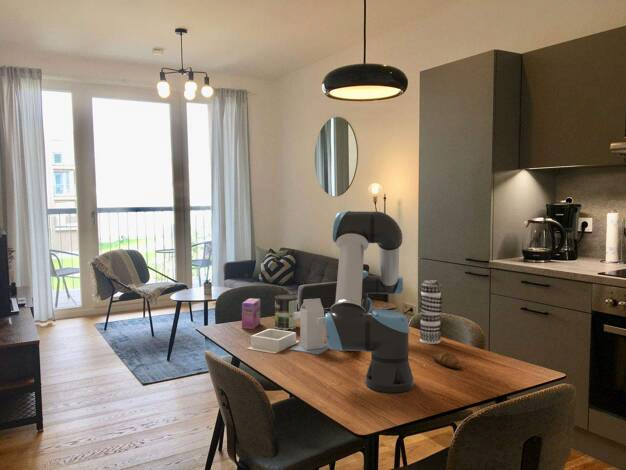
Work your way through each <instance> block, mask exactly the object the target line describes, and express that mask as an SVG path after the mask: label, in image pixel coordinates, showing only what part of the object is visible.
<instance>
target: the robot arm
mask: <svg viewBox="0 0 626 470" xmlns="http://www.w3.org/2000/svg"><path fill="white" fill-rule="evenodd" d="M399 225H400V224H398V222H397V221H396V220H395V218H393V217H392V216H390V215H389V214H387V213H385V212H382V211H376V210H374V211H350V210H346V211H340V212H338V213H337V214H336V215H335V217H334V220H333V226H332V241H333V243H334V244H335V245H336V247H337V249H339V254H338V255H339V256H338V266H337V267H338V269H337V280H336V281H337V282H336V291H335V302H334V303H333V304H332V305H331V307H325V306H322V307H323V309H324V317H322V318H317V326H320V325H324V333H325V342H326V344H327V346H328V347H329V349H330V350H334V351H340V352H342V351H344V352H346V351H347V352H367V353H368V352H370V353H371V358H370V362H369V366H368V368H367V372H366V375H365V385H366V387H368V388H369V389H371V390H374V391H377V392H381V393H388V394H390V393H393V394H394V393H395V394H397V393H404V392H409V391H410V390H413V388H414V386H415V385H414V384H415V382H414V381H415V380H414V376H413V375H414V374H413V371H412V369H411V368H412V367H411V366H410V361H409V334H410V329H409V327H410V325H409V319H408V316H406V315H405V313H402V312H399V311H397V310H396V311H395V310H391V309H385V308H377V309H376V308H374V303H373V300H372V299H371V298H370V297H369V294H379V295H380V294H381V295H382V294H383V295H401V294H402V293H403V291H404V290H403V288H404V286H403V284H404V278H403V277H402V276H399V271H400V266H399V265H400V264H399V263H400V247H401V246H402V244H403V232H402V229H401V227H400V226H399ZM369 244H376V245H377V246H378V248H379V275H369V272H368V271H367V270H364V259H365V258H364V257H365V254H364V253H365V251H366V250H368V247H369ZM361 299H364V303H363V307H362V306H361ZM373 308H374V309H373ZM370 313H371V314H370ZM293 319H294V320H296V319H297V320H300V310H299V311H297V312H294V313H293Z"/></svg>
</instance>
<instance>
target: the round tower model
mask: <svg viewBox="0 0 626 470" xmlns="http://www.w3.org/2000/svg"><path fill="white" fill-rule="evenodd" d="M420 285H421V291H420V293H419V299H420V300H419V308H420V310H419V312H420V314H421V315H420V324H419V326H420V327H419V330H420V331H419V342H421V343H424V344H431V345H434V344H435V345H436V344H437V345H438V344H440V343H441V339H442V337H441V335H442V333H441V331H442V324H441V314H442V310H441V309H443V307H442V306H441V304H443V301H442V300H443V298H442V296H441V295H442V294H441V293H442V292H441V286H442V284H441V283H440V282H439V281H438V280H437V279H436V280H435V279H425V280H424V281H423V282H422V283H421V284H420Z"/></svg>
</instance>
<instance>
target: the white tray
mask: <svg viewBox="0 0 626 470" xmlns="http://www.w3.org/2000/svg"><path fill="white" fill-rule="evenodd" d="M250 342H251V343H250V346H249V347H247V348H246V350H251V351H257V352H261V353H262V352H263V353H267V354H274V355H275V354H278V353H279V352H281V351H284V350H285V349H289V347H290V348H291V347H293V346H295V345H297V343H298V344H299V343H300V340H298V339H297V332H294V331H291V330H290V331H289V330H281V329H276V328H268V329H265V330H262V331H260V332H258V333H255V334H253V335H251V336H250Z"/></svg>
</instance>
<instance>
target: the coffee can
mask: <svg viewBox="0 0 626 470" xmlns="http://www.w3.org/2000/svg"><path fill="white" fill-rule="evenodd" d="M294 312H298V296H297V295H296V294H295V295H294V294H287V293H286V294H284V293H283V294H278V295H275V296H274V329H276V328H277V329H276V330H281V329H282V330H283V331H289V330H288V329H291V330H295V329H296V327H297V328H298V319H296V320H294V319H293V313H294ZM294 328H295V329H294Z"/></svg>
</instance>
